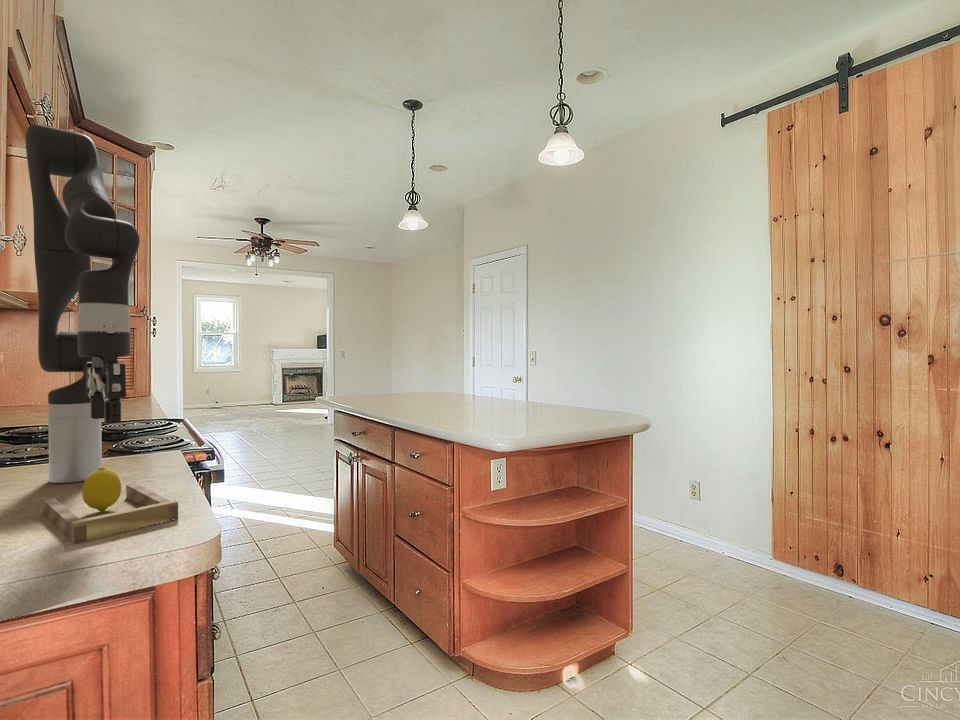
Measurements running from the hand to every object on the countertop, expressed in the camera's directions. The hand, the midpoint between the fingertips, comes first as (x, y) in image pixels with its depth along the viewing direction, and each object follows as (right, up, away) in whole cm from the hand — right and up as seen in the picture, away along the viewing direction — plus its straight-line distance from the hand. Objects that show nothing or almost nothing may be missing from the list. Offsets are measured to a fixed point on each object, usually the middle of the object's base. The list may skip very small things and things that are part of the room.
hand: (105, 420), depth 89 cm
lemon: (0, -17, 0) cm, 17 cm away
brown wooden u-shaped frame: (+3, -16, -3) cm, 17 cm away
